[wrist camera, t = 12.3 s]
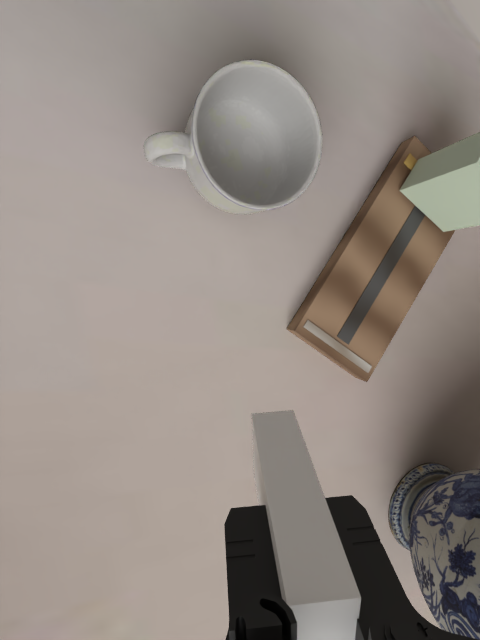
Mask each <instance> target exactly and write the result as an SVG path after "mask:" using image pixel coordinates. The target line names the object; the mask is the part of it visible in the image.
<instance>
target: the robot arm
mask: <svg viewBox="0 0 480 640" xmlns="http://www.w3.org/2000/svg"><path fill="white" fill-rule="evenodd" d="M252 440H253V466H254V479H255V485H256V492H257V498H258V504H259V506H250V507H239V508H231V510H230V512H229V514H228V517H227V519H226V522H225V543H226V562H227V582H228V601H229V630H228V633H227V637H226V640H479V639H475V638H470V637H466V636H462V635H458V634H454V633H450V632H447V631H445V630H442V629H439V628H438V627H436V626H434V625H432V624H431V623H429V622H428V621H427V620H426V619H424V618H423V617H422V616H421V615H420V614H419V613H418V612H417V611H416V610H415V609H414V607H413V606H412V605H411V603H410V601H409V600H408V598H407V596H406V594H405V592H404V590H403V588H402V585H401V583H400V581H399V579H398V577H397V575H396V573H395V571H394V568H393V566H392V564H391V562H390V560H389V558H388V556H387V554H386V551H385V549H384V547H383V545H382V544H381V542H380V539H379V537H378V534H377V532H376V530H375V529H374V526H373V524H372V522H371V520H370V517H369V515H368V513H367V511H366V509H365V508H364V507H363V506H362V505H361V504H360V503H359V502H358V501H357V500H356V499H355V498H354V497H353V496H352V495H351V496H341V497H330V498H325V496H324V494H323V491H322V488H321V485H320V483H319V480H318V477H317V474H316V472H315V469H314V466H313V463H312V461H311V458H310V455H309V452H308V450H307V447H306V444H305V441H304V439H303V436H302V433H301V430H300V427H299V425H298V422H297V419H296V416H295V414H294V411H293V410H290V411H278V412H266V413H255V414H252Z"/></svg>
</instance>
